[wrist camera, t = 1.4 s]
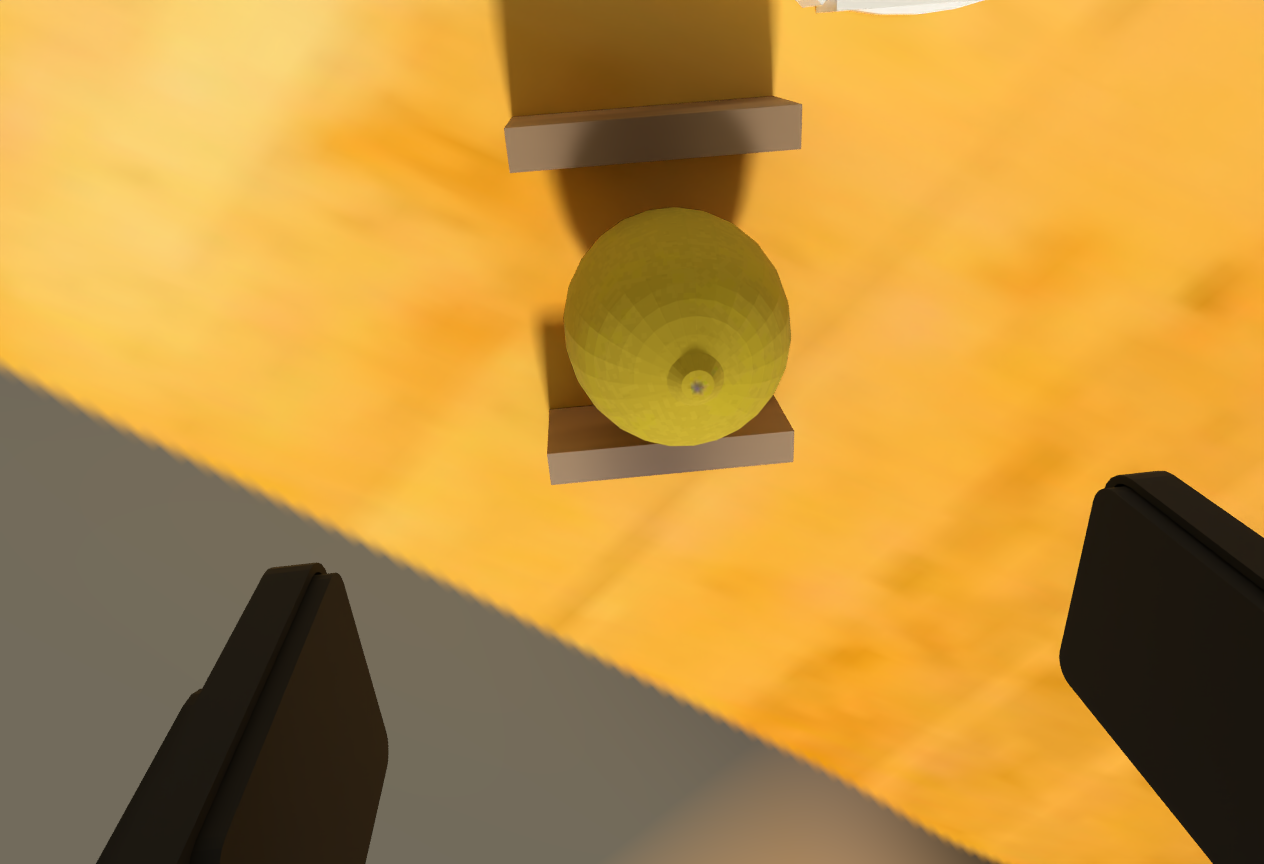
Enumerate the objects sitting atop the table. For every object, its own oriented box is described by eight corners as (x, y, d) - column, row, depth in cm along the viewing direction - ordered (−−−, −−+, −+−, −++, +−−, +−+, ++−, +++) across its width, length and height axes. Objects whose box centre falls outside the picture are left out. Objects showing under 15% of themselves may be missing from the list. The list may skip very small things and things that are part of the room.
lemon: (525, 260, 23) (506, 360, 16) (686, 142, 22) (744, 193, 15) (634, 401, 25) (661, 545, 18) (785, 301, 24) (877, 412, 17)
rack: (772, 96, 21) (801, 104, 19) (769, 417, 26) (793, 461, 23) (512, 116, 21) (504, 128, 18) (553, 437, 25) (551, 484, 23)
